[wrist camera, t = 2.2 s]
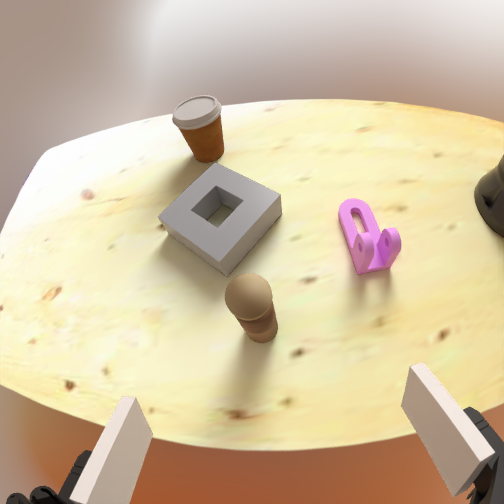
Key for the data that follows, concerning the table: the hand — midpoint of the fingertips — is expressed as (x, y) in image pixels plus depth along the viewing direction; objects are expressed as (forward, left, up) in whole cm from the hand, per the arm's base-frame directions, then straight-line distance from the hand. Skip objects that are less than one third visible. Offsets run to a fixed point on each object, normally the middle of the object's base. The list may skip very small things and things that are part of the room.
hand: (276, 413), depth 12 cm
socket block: (-16, -25, -25) cm, 39 cm away
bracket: (-27, -5, -26) cm, 38 cm away
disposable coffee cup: (-28, -40, -26) cm, 55 cm away
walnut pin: (-6, -9, -25) cm, 28 cm away
